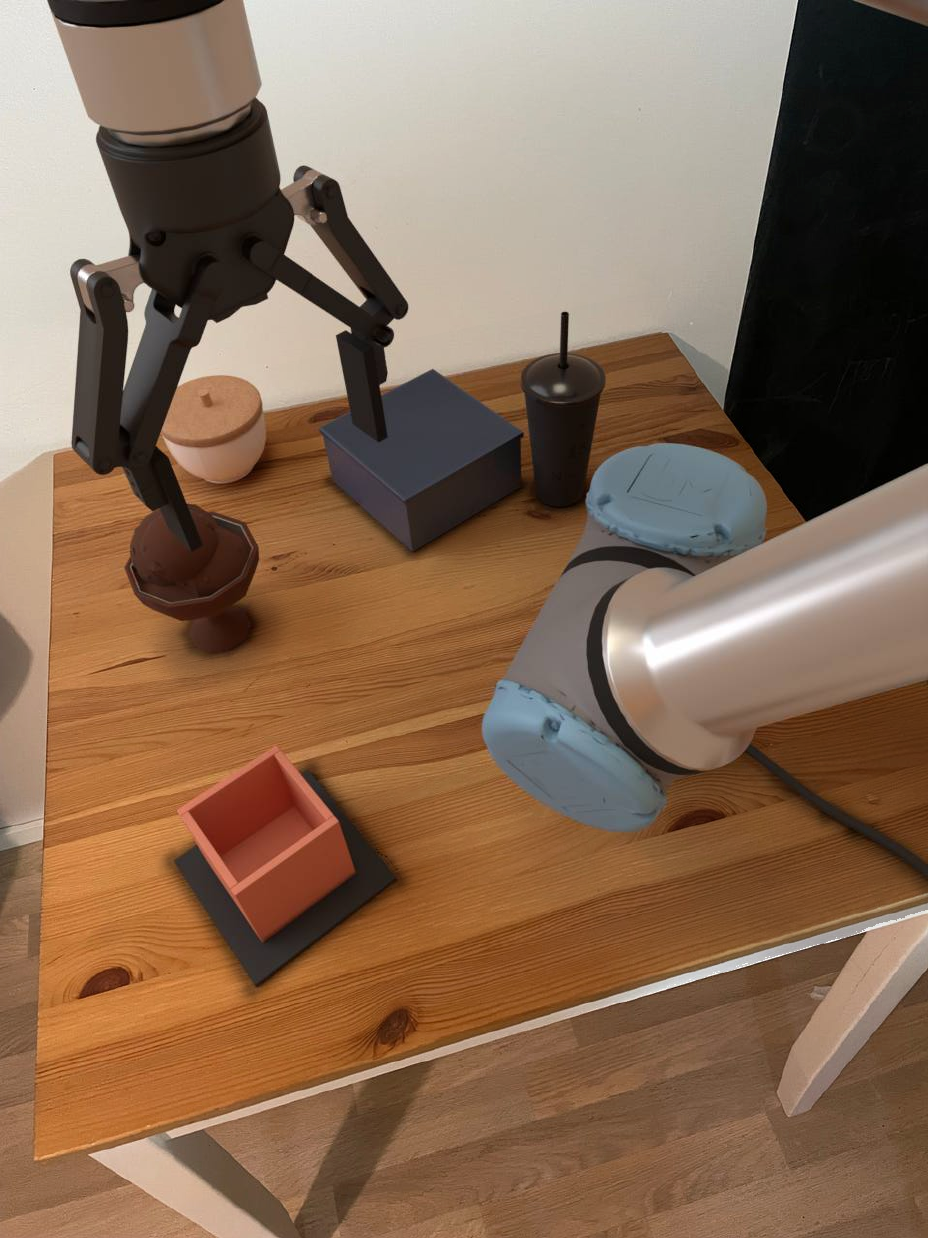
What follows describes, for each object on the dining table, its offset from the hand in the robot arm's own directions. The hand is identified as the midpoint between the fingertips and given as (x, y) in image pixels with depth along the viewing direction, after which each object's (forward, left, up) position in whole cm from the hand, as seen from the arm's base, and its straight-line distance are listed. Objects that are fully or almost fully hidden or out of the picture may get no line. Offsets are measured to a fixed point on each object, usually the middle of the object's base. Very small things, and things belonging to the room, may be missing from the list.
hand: (282, 482), depth 56 cm
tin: (+19, -23, -27) cm, 40 cm away
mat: (-8, +11, -27) cm, 30 cm away
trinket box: (+36, -9, -27) cm, 46 cm away
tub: (-7, +11, -26) cm, 29 cm away
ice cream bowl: (+16, +3, -27) cm, 32 cm away
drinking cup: (+9, -32, -26) cm, 43 cm away
